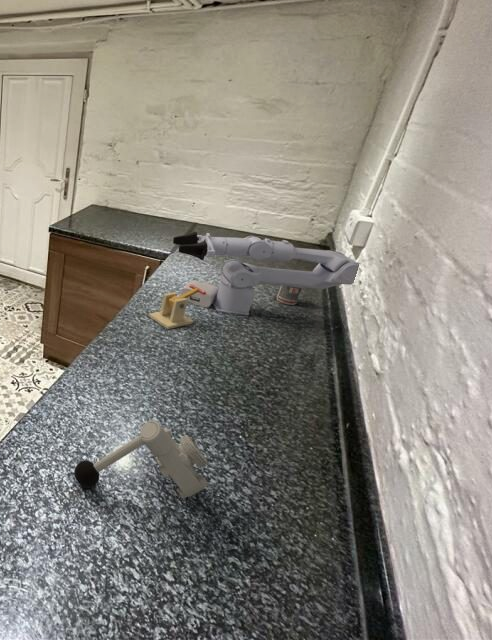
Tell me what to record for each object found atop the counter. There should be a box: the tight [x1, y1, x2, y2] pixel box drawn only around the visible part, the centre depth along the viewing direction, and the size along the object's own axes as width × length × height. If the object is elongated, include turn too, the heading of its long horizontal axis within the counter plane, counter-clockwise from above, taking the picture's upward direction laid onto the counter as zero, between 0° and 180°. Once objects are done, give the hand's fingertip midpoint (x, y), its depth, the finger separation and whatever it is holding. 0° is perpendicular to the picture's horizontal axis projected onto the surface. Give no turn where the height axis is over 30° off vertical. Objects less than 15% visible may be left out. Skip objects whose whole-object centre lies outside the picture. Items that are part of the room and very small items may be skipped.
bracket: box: [148, 291, 194, 330], centre depth 121 cm, size 10×8×8 cm
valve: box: [74, 419, 209, 499], centre depth 69 cm, size 10×20×15 cm
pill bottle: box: [276, 286, 303, 306], centre depth 135 cm, size 6×6×10 cm
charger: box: [179, 280, 219, 308], centre depth 137 cm, size 5×9×15 cm
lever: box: [168, 285, 206, 308], centre depth 121 cm, size 11×6×2 cm, turn 111°
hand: (176, 244), depth 127 cm, fingers open, 7 cm apart
